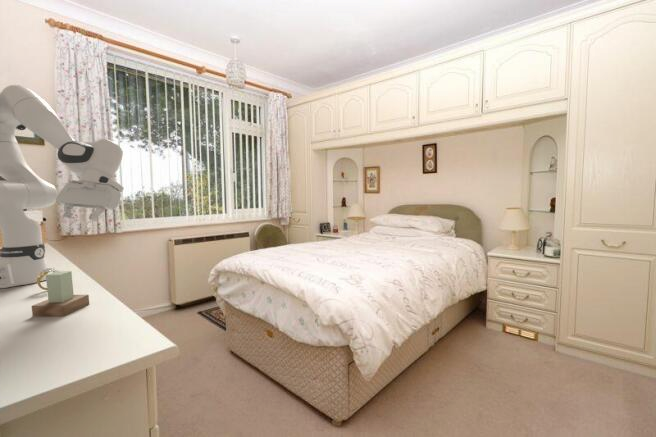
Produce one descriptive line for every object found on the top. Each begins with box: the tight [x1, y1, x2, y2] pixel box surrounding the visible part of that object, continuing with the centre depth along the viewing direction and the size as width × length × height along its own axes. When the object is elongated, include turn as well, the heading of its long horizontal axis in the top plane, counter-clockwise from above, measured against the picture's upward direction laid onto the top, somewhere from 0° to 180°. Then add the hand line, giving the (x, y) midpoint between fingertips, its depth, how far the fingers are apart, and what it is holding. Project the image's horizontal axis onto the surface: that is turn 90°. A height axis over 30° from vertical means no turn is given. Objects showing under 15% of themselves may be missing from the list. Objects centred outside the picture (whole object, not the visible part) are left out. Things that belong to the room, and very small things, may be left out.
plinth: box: [31, 294, 90, 317], centre depth 92 cm, size 9×9×3 cm
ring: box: [36, 267, 59, 291], centre depth 111 cm, size 7×3×8 cm, turn 140°
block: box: [45, 270, 75, 302], centre depth 91 cm, size 4×4×8 cm
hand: (79, 218), depth 104 cm, fingers open, 8 cm apart
